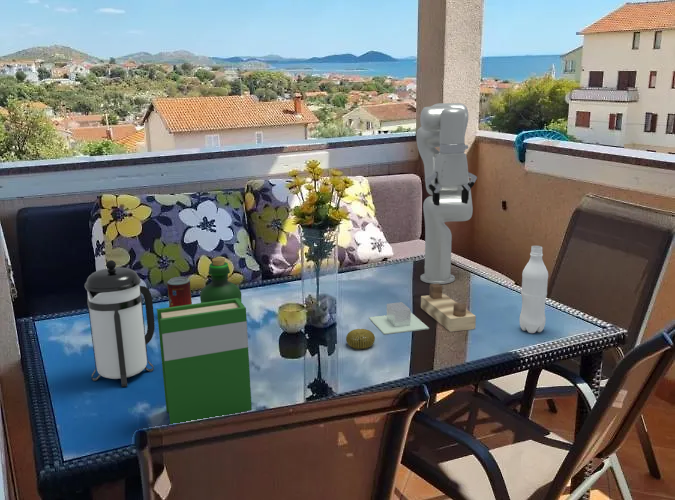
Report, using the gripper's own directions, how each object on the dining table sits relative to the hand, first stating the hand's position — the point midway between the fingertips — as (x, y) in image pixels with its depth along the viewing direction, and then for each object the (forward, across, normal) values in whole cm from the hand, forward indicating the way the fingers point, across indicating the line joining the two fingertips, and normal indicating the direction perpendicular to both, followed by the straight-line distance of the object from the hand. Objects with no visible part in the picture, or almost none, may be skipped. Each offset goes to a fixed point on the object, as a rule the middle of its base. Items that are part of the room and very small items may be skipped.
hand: (450, 203), depth 197 cm
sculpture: (+34, +38, +24) cm, 56 cm away
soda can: (+34, +85, -16) cm, 93 cm away
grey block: (+33, +22, +12) cm, 41 cm away
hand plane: (+33, +6, +12) cm, 36 cm away
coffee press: (+34, +100, +23) cm, 108 cm away
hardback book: (+34, +81, +49) cm, 100 cm away
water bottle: (+34, -13, +29) cm, 46 cm away
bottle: (+34, +75, +24) cm, 86 cm away
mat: (+33, +22, +12) cm, 42 cm away
